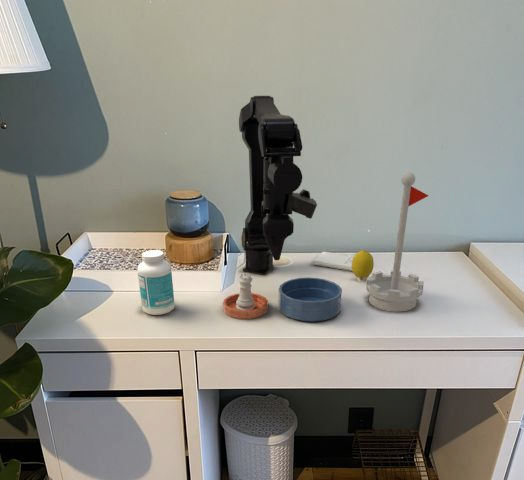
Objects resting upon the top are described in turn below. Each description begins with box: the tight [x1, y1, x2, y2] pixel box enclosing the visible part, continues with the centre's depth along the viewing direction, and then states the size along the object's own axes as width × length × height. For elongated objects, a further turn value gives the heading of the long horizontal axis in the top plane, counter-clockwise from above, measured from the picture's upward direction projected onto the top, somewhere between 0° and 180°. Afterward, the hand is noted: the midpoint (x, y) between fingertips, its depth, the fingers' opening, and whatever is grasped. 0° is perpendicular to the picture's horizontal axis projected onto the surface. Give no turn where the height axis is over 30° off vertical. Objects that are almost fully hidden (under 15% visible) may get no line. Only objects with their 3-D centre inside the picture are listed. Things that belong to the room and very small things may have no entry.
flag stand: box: [365, 171, 430, 313], centre depth 125 cm, size 13×13×30 cm
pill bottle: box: [136, 249, 175, 316], centre depth 125 cm, size 8×7×14 cm
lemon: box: [351, 249, 375, 281], centre depth 143 cm, size 6×6×8 cm
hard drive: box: [312, 251, 355, 272], centre depth 154 cm, size 2×8×12 cm
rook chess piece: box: [236, 273, 255, 310], centre depth 126 cm, size 4×4×8 cm
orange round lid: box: [222, 292, 269, 320], centre depth 128 cm, size 10×10×2 cm
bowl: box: [277, 277, 343, 322], centre depth 127 cm, size 14×14×5 cm
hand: (276, 252), depth 125 cm, fingers open, 9 cm apart
